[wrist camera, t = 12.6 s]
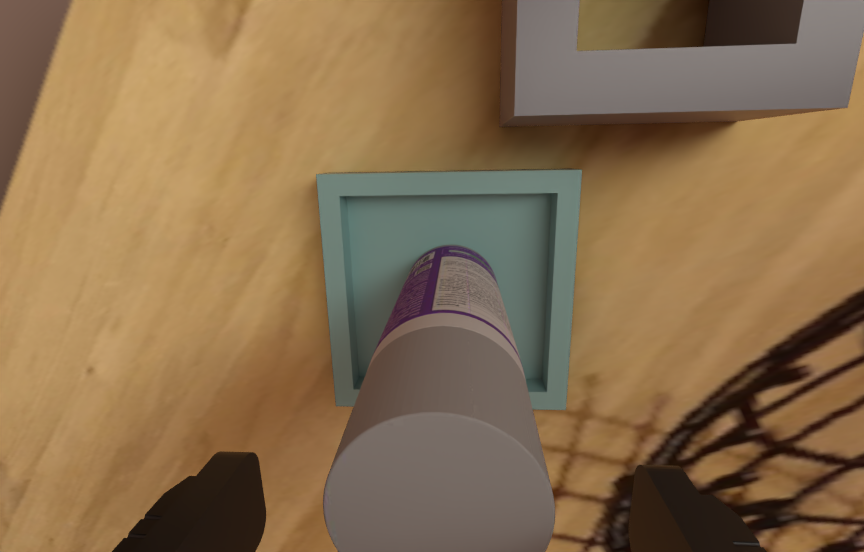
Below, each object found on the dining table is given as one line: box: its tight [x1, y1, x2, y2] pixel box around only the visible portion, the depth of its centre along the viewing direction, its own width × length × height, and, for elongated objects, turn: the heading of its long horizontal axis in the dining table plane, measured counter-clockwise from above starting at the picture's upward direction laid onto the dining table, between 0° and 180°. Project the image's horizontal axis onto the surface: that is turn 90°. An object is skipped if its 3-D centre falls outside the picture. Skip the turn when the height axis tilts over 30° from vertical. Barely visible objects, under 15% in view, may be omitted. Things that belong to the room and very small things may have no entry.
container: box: [323, 244, 555, 552], centre depth 16 cm, size 5×5×15 cm
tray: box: [316, 169, 582, 410], centre depth 23 cm, size 12×12×2 cm
